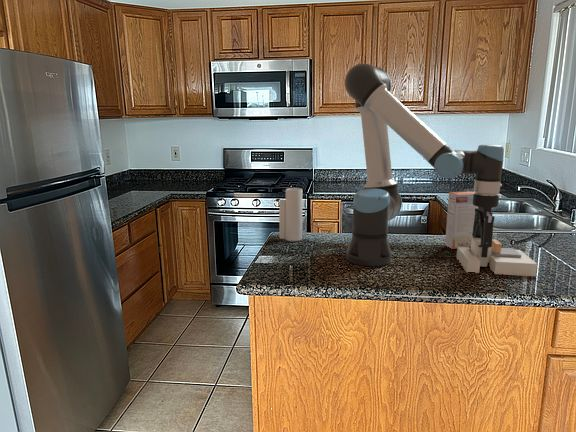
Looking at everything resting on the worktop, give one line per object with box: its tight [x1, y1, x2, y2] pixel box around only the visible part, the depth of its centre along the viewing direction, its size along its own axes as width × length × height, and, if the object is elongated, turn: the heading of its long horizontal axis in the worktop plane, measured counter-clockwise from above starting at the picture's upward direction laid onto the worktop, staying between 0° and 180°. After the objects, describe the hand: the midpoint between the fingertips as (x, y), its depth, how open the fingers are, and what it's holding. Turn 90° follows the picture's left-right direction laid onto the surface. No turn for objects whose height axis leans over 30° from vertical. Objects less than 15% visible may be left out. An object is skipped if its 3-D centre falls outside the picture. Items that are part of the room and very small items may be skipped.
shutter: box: [491, 238, 521, 257], centre depth 141 cm, size 8×8×4 cm
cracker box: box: [444, 191, 478, 250], centre depth 160 cm, size 14×6×21 cm, turn 100°
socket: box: [456, 247, 538, 277], centre depth 140 cm, size 20×15×4 cm
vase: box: [278, 187, 303, 242], centre depth 172 cm, size 11×7×20 cm, turn 40°
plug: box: [470, 238, 492, 265], centre depth 142 cm, size 5×5×8 cm
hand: (479, 262), depth 143 cm, fingers open, 7 cm apart
